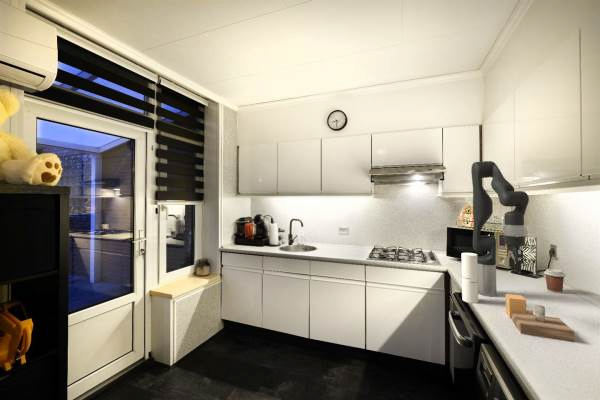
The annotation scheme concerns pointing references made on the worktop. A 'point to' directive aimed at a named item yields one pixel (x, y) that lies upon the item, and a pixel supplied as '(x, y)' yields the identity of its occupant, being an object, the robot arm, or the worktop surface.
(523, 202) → the robot arm
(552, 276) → the coffee cup
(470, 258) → the cylindrical container
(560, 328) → the brown slab
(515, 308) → the peach foam cube
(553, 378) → the worktop surface
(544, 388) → the worktop surface
